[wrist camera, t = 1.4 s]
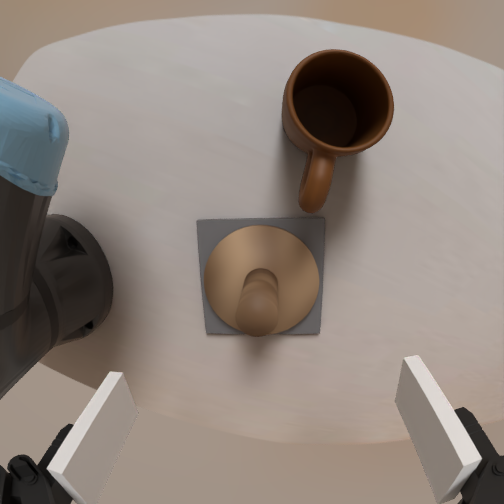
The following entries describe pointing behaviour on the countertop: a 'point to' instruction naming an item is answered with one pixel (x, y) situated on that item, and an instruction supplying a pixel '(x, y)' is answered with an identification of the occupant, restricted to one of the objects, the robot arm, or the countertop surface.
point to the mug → (333, 115)
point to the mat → (303, 228)
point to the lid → (261, 280)
